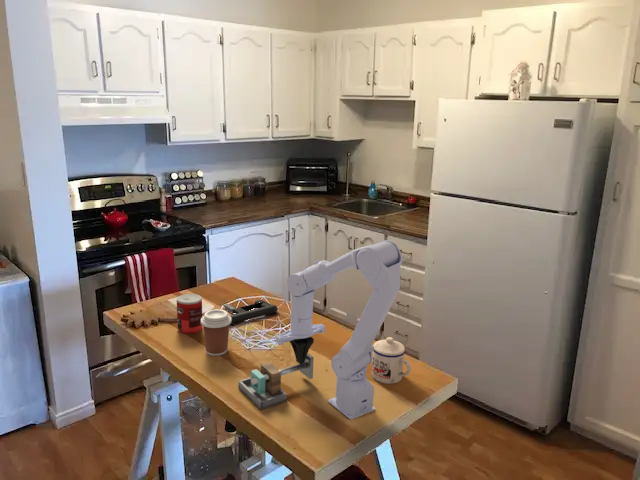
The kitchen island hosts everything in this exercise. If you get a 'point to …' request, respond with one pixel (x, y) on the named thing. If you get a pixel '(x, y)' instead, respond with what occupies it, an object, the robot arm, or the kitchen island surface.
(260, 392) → the block
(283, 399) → the tray
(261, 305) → the door handle
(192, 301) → the canned food
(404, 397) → the kitchen island surface
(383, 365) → the teacup with lid
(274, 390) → the bearing block
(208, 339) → the coffee cup
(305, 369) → the shaft
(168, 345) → the kitchen island surface
